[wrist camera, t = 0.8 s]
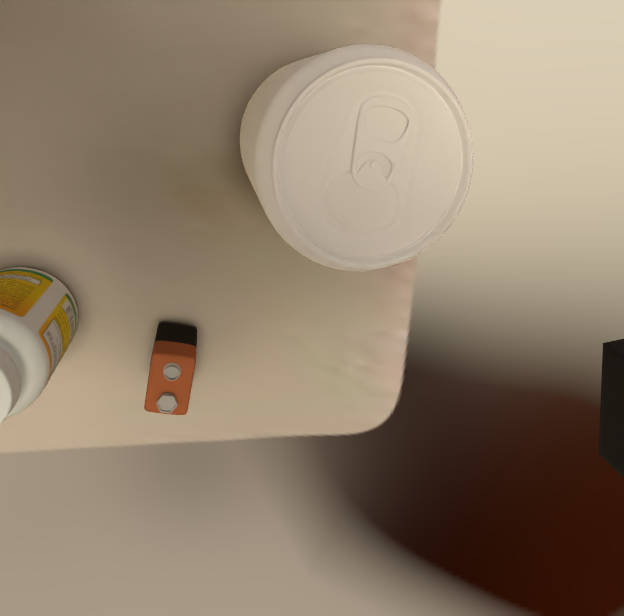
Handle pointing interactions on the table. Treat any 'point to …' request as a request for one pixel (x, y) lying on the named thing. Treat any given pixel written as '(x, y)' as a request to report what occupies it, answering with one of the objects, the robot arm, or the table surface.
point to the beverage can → (358, 155)
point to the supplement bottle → (31, 334)
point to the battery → (171, 369)
